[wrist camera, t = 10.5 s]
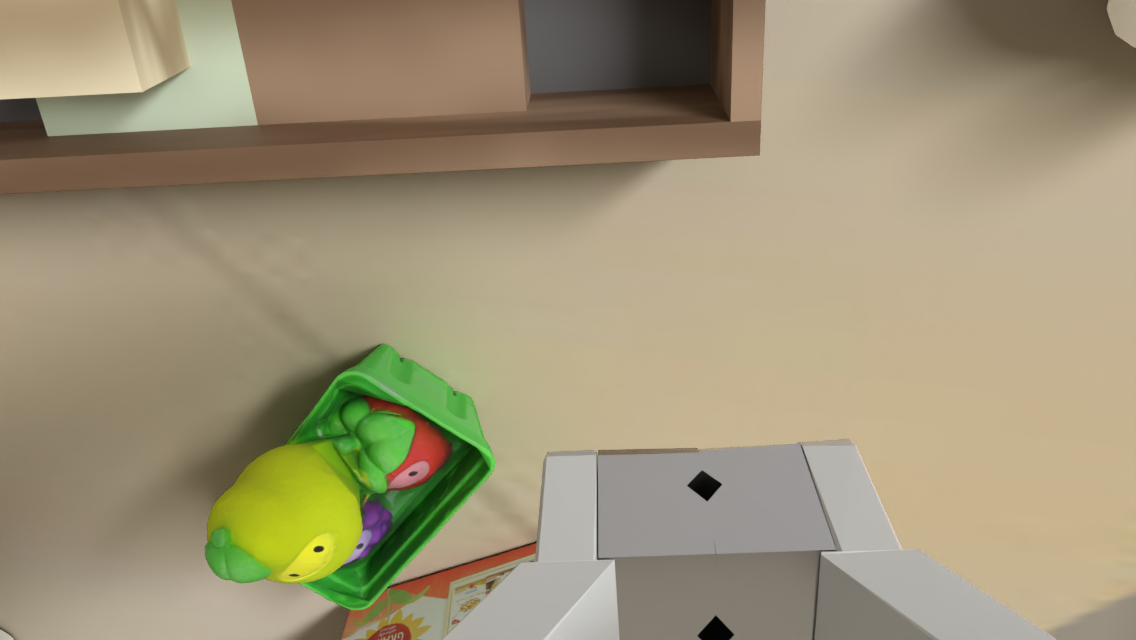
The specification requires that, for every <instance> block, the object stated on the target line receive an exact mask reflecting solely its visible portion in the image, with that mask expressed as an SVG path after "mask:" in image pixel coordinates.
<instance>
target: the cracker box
mask: <svg viewBox="0 0 1136 640" xmlns="http://www.w3.org/2000/svg"><path fill="white" fill-rule="evenodd" d="M535 554H536V543H535V544H532V545H529V546H526V547H523V548H519V549H516V550H512V551H509V552H506V553H502V554H499V555H497V556H493V557H489V558H486V559H483V560H480V561H476V562H473V563H469V564H467V565H463V566H459V567H456V568H453V569H450V570H447V571H443V572H440V573H437V574H433V575H430V576H427V577H424V578H420V579H417V580H414V581H410V582H407V583H403V584H400V585H397V586H394V587H391V588H387V589H386V590H385V591H384V592H383V593H382V594H381V595H380V596H379V597H378V599H377V600H376V601H375V602H374V603H373V604H372V605H371V606H370V607H368V608H366V609H363V610H349V614H348V617H347V620H346V623H345V626H344V630H343V633H342V636H341V640H442V639H443V638H444V637H445V636H446V635H447V634H448V633H449V632H450V631H451V630H452V629H453V628H454V627H455V626H456V625H457V624H458V623H459V622H460V621H461V620H462V619H463V618H464V617H465V616H466V615H467V614H468V613H469V612H470V611H471V610H472V609H473V608H474V607H476V606H477V605H478V604H479V603H480V602H481V601H482V600H483V599H484V598H485V597H486V596H487V595H488V594H489V593H490V592H491V591H492V590H493V589H494V588H495V587H496V586H497V585H498V584H499V583H500V582H501V581H502V580H503V579H504V578H505V577H506V576H507V575H508V574H509V573H510V572H511V571H512V570H513V569H514V568H515V567H516V566H517V565H518V564H519V563H526V562H535Z"/></svg>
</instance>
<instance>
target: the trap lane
mask: <svg viewBox="0 0 1136 640" xmlns="http://www.w3.org/2000/svg"><path fill="white" fill-rule="evenodd" d="M175 3H176V7H177V11H178V15H179V20H180V24H181V28H182V32H183V36H184V41H185V45H186V49H187V53H188V57H189V62H190V66H191V67H189V68H187V69H185V70H184V71H182V72H180V73H178V74H176V75H174V76H172V77H170V78H168V79H166V80H165V81H163V82H161V83H159V84H157V85H155V86H153V87H151V88H149V89H147V90H145V91H144V92H136V93H117V94H97V95H78V96H59V97H39V98H20V99H1V100H0V194H7V193H27V192H47V191H67V190H86V189H106V188H126V187H145V186H165V185H185V184H205V183H224V182H244V181H264V180H284V179H303V178H323V177H343V176H362V175H382V174H402V173H422V172H441V171H461V170H481V169H500V168H520V167H540V166H560V165H579V164H599V163H619V162H639V161H658V160H678V159H698V158H717V157H737V156H757V155H760V132H761V105H762V79H763V52H764V26H765V0H175Z"/></svg>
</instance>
